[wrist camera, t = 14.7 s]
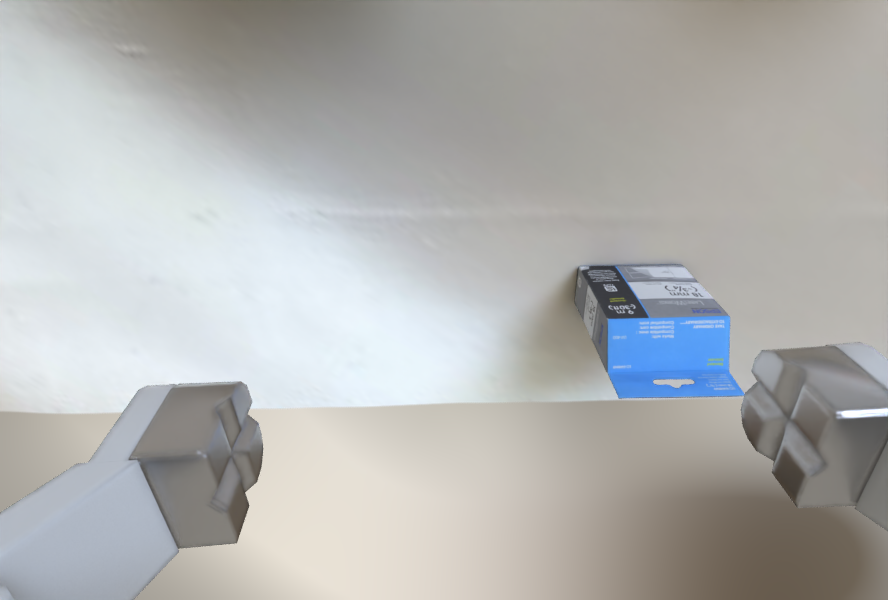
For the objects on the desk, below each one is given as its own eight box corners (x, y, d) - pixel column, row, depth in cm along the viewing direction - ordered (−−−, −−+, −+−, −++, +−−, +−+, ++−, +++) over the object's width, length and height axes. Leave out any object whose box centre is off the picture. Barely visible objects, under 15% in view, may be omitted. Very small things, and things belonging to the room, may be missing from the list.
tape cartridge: (684, 262, 45) (765, 348, 35) (674, 302, 47) (749, 396, 37) (577, 264, 45) (626, 352, 34) (572, 305, 47) (617, 400, 36)
